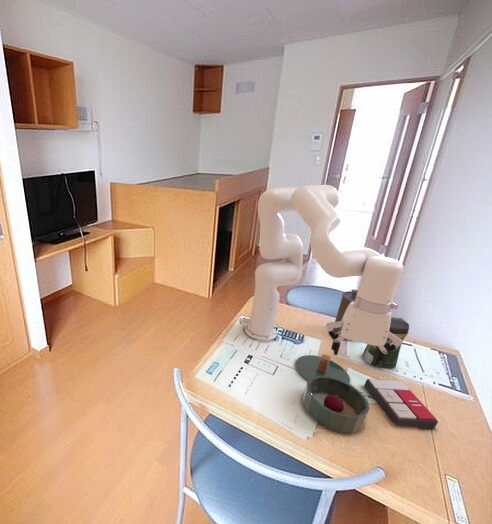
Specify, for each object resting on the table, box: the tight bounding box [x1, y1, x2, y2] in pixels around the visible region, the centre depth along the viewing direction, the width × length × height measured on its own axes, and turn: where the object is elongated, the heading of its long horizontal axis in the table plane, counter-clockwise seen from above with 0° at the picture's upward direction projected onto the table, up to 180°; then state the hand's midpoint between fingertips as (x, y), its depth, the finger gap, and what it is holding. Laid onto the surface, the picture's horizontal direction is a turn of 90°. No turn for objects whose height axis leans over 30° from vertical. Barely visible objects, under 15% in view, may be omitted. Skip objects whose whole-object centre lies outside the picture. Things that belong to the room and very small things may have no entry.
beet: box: [323, 394, 345, 414], centre depth 90 cm, size 5×5×6 cm
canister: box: [333, 289, 358, 341], centre depth 125 cm, size 11×10×20 cm
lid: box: [294, 354, 351, 384], centre depth 105 cm, size 17×17×7 cm
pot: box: [302, 376, 370, 435], centre depth 90 cm, size 16×16×6 cm
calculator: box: [363, 378, 439, 430], centre depth 92 cm, size 11×4×15 cm
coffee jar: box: [362, 316, 410, 369], centre depth 108 cm, size 10×8×19 cm
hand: (354, 357), depth 86 cm, fingers open, 9 cm apart
